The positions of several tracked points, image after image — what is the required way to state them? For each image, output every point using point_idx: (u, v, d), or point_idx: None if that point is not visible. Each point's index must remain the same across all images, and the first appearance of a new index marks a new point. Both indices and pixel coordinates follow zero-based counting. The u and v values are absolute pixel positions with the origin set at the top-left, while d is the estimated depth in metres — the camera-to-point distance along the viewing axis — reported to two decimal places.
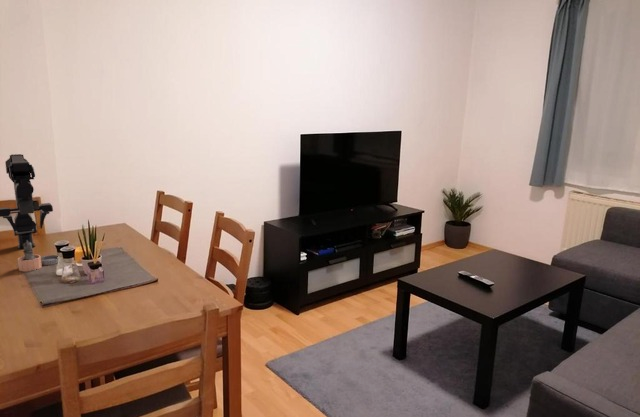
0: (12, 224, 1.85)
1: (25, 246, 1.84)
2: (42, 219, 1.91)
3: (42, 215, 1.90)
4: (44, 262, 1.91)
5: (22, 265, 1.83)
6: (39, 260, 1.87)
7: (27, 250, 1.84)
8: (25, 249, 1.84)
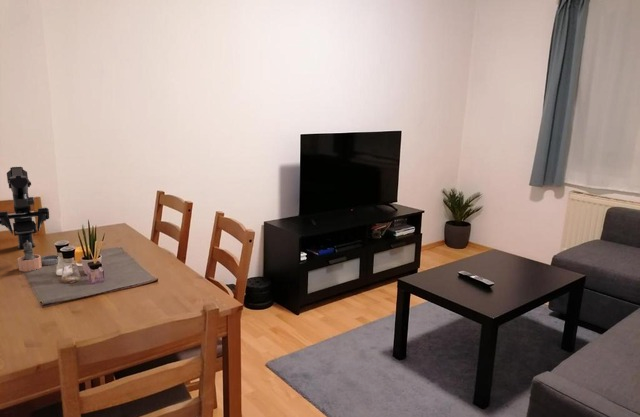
0: (9, 226, 1.88)
1: (25, 246, 1.84)
2: (39, 221, 1.94)
3: (38, 216, 1.94)
4: (44, 262, 1.91)
5: (22, 265, 1.83)
6: (39, 260, 1.87)
7: (27, 250, 1.84)
8: (25, 249, 1.84)
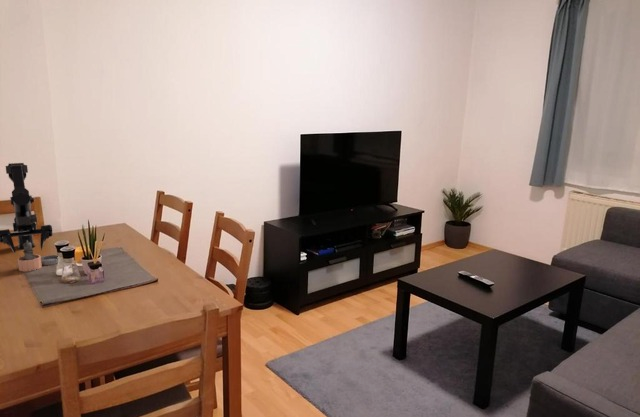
0: (11, 244, 1.83)
1: (25, 246, 1.84)
2: (42, 239, 1.89)
3: (41, 234, 1.89)
4: (44, 262, 1.91)
5: (22, 265, 1.83)
6: (39, 260, 1.87)
7: (27, 250, 1.84)
8: (25, 249, 1.84)
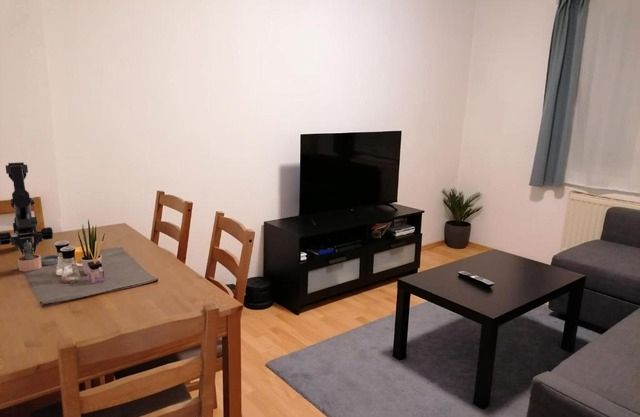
0: (20, 246, 1.84)
1: (25, 246, 1.84)
2: (35, 242, 1.87)
3: (34, 237, 1.87)
4: (44, 262, 1.91)
5: (22, 265, 1.83)
6: (39, 260, 1.87)
7: (27, 250, 1.84)
8: (25, 249, 1.84)
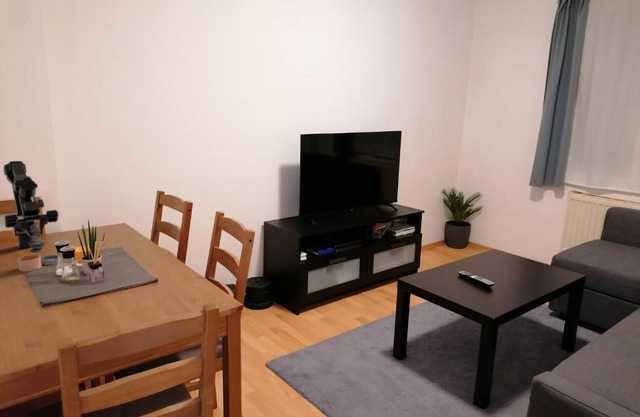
0: (27, 228, 1.85)
1: (32, 228, 1.86)
2: (41, 224, 1.89)
3: (41, 220, 1.89)
4: (44, 262, 1.91)
5: (22, 265, 1.83)
6: (39, 260, 1.87)
7: (34, 232, 1.86)
8: (32, 231, 1.86)
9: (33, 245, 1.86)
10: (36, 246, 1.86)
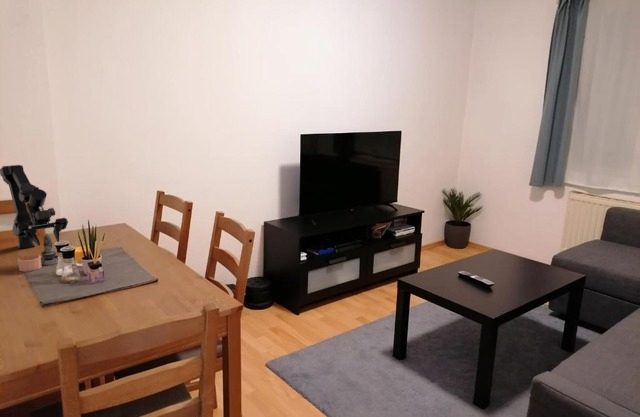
0: (35, 237, 1.89)
1: (46, 239, 1.91)
2: (57, 231, 1.96)
3: (56, 227, 1.96)
4: (44, 262, 1.91)
5: (22, 265, 1.83)
6: (39, 260, 1.87)
7: (48, 243, 1.92)
8: (46, 242, 1.92)
9: (47, 255, 1.92)
10: (50, 256, 1.92)
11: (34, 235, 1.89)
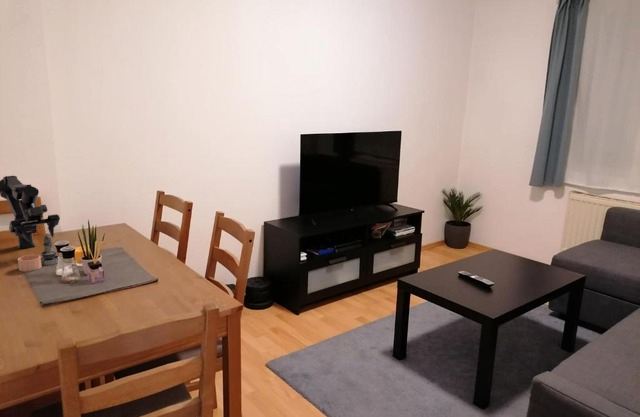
0: (25, 233, 1.95)
1: (46, 239, 1.92)
2: (52, 227, 2.03)
3: (51, 223, 2.03)
4: (44, 262, 1.91)
5: (22, 265, 1.83)
6: (39, 260, 1.87)
7: (48, 243, 1.92)
8: (46, 242, 1.92)
9: (47, 255, 1.92)
10: (50, 256, 1.93)
11: (24, 231, 1.95)
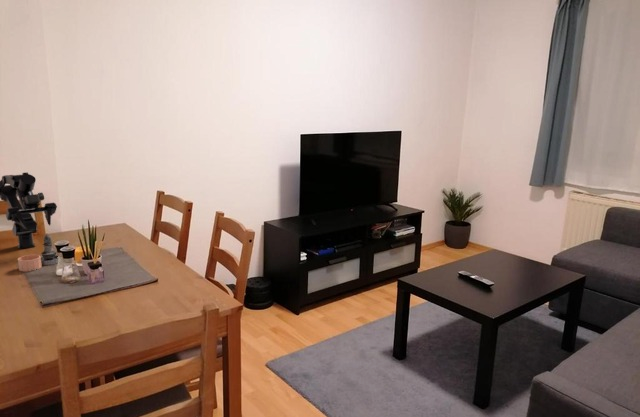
0: (22, 221, 1.95)
1: (46, 239, 1.92)
2: (49, 215, 2.03)
3: (48, 211, 2.03)
4: (44, 262, 1.91)
5: (22, 265, 1.83)
6: (39, 260, 1.87)
7: (48, 243, 1.92)
8: (46, 242, 1.92)
9: (47, 255, 1.92)
10: (50, 256, 1.93)
11: (21, 219, 1.95)
